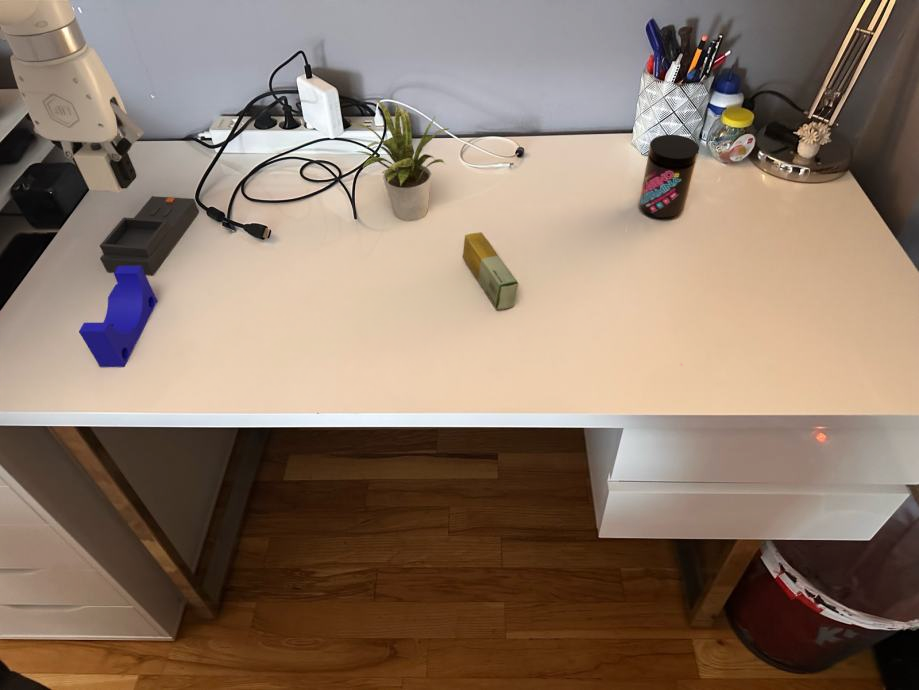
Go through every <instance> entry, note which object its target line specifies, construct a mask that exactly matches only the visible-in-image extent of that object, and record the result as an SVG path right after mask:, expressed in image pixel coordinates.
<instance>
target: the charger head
mask: <svg viewBox="0 0 919 690" xmlns="http://www.w3.org/2000/svg"><path fill="white" fill-rule="evenodd" d="M112 141H113V143H114V144H115V146H117V144H116V142H115V140H112ZM73 157H74V159H75V161H76V163H77V165H78V167H79V169H80V171H81V173H82V175H83V177H84V180H85V182H86V184H87V186H86V187H87V188H88V189H89V191H97V192H114V193H120V192H121V191H122V190H123V188H121V187H120V185H119V183H118V181H117V179H116V176H115V174H114V172H113V170H112V167H111V165H110V161H111V160H112V158H111V157H110V155H109V154H108V152H107V151H106V149H105V147H104V146H103V144H102V143H86V142H85V145H84V146H83V147H82V148H81V149H80V150H79V151H78V152H77V153H76V154H75V155H73Z"/></svg>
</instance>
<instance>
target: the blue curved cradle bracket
mask: <svg viewBox="0 0 919 690" xmlns="http://www.w3.org/2000/svg"><path fill="white" fill-rule="evenodd" d="M113 276H114V277H115V281H116V283H115V285H114V286H113V287H112V290H111V291H110V293H109V295H108V297H107V308H106V314H105V317H104V320H103V321H102V322H99V321H98V322H83V324H82V325H81V327H80V329H79V331H78V333H79V334H80V336H81V338H82V340H83V341H84V343H85V345H86V346H87V348H88V349H89V351H90V353H91V355H92V356H93V358H94V360H95V361H96V363H97V364H98V367H100V368H124V367H126V365H127V362H128V360H129V359H130V357H131V354H132V353H133V350H134V349H135V347H136V344H137V342H138V341H139V339H140V337H141V335H142V333H143V330H144V329H145V327H146V325H147V323H148V321H149V319H150V317H151V315H152V313H153V311H154V309H155V307H156V305H157V303H158V299H157V297H156V294H155V293H154V290H153V288H152V285H151V284H150V281H149V280H148V277H147V275H145V273H144V271H143V269H142V266H118V267H117V269H116V270H115V272H114V273H113Z"/></svg>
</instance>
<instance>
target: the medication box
mask: <svg viewBox="0 0 919 690" xmlns="http://www.w3.org/2000/svg"><path fill="white" fill-rule="evenodd" d="M462 259H463V260H464V262H465V263H466V265H467V267H468V269H470V271H471V273H472V275H473V276H474V278H475V279H476V280H477V282H478V284H479V285H480V286H481V288H482V289H483V291H484V292H485V294H486V296H487V297H488V299H489V300H490V302H491V303H492V305H493V306H494V308H495V309H496V311H502V310H503V311H504V310H509V309H511V308H514V307H515V303H516V299H517V298H516V297H517V293H518V288H519V285H520V284H519V282H518V280H517V278H515V276H514V274H513V273H512V271H510V269H509V268H508V266H507V265H506V263H505V262H504V261H503V260H502V257H500V255H499V254H498V253H497V251H496V250H495V248H494V247H493V246H492V244H491V243H490V242H489V240H488V238H486V236H485V234H484V233H483V232H481V231H480V232H472V233H468V234H465V235H464V242H463V252H462Z"/></svg>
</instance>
